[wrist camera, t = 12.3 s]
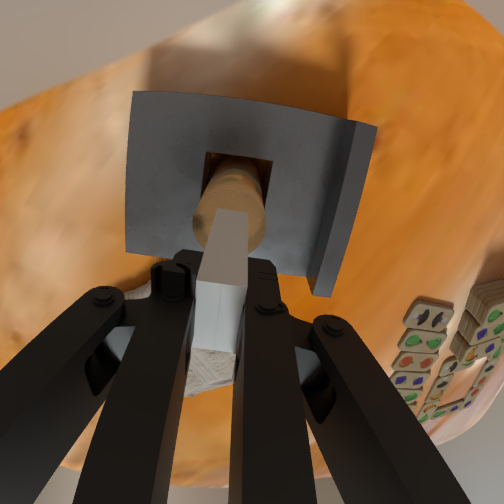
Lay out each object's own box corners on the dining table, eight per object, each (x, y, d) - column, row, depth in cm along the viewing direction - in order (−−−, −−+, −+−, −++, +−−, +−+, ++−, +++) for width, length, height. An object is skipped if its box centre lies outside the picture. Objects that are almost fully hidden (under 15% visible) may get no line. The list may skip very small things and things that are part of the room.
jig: (139, 234, 30) (113, 268, 23) (148, 92, 23) (118, 89, 17) (314, 258, 31) (330, 297, 25) (347, 121, 25) (377, 126, 19)
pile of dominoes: (406, 294, 34) (425, 322, 29) (532, 269, 33) (551, 287, 28) (363, 435, 50) (369, 457, 45) (469, 402, 49) (478, 419, 44)
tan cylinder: (212, 195, 28) (189, 253, 17) (217, 153, 26) (195, 184, 15) (255, 201, 28) (259, 262, 18) (262, 159, 26) (272, 195, 16)
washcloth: (186, 388, 41) (183, 405, 38) (101, 300, 34) (92, 315, 31) (258, 364, 38) (258, 381, 36) (176, 259, 31) (169, 273, 29)
